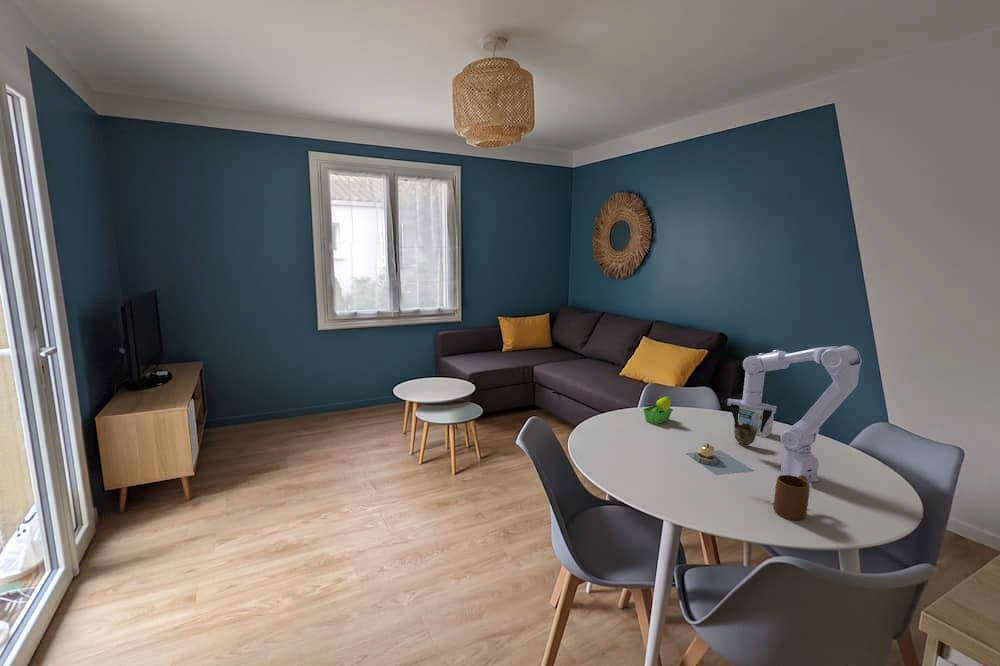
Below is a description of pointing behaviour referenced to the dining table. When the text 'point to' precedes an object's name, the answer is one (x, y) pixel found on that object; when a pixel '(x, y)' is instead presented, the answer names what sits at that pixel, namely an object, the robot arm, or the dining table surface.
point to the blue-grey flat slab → (720, 463)
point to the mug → (791, 497)
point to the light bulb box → (755, 420)
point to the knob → (707, 452)
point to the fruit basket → (659, 411)
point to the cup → (745, 434)
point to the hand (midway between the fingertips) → (748, 428)
